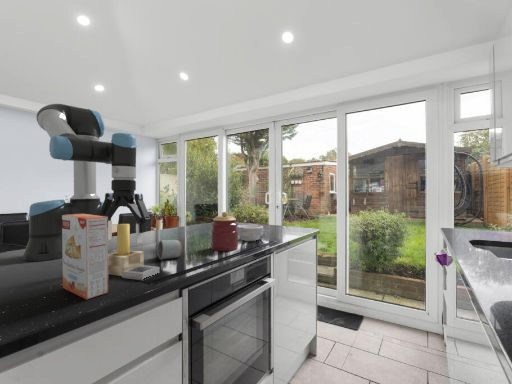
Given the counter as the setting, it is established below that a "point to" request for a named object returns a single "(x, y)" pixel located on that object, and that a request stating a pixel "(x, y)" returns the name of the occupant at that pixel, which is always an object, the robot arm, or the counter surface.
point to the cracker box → (85, 254)
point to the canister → (224, 233)
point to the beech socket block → (124, 262)
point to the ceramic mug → (169, 249)
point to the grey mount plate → (140, 272)
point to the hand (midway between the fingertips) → (123, 241)
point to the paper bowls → (250, 232)
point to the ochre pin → (123, 239)
